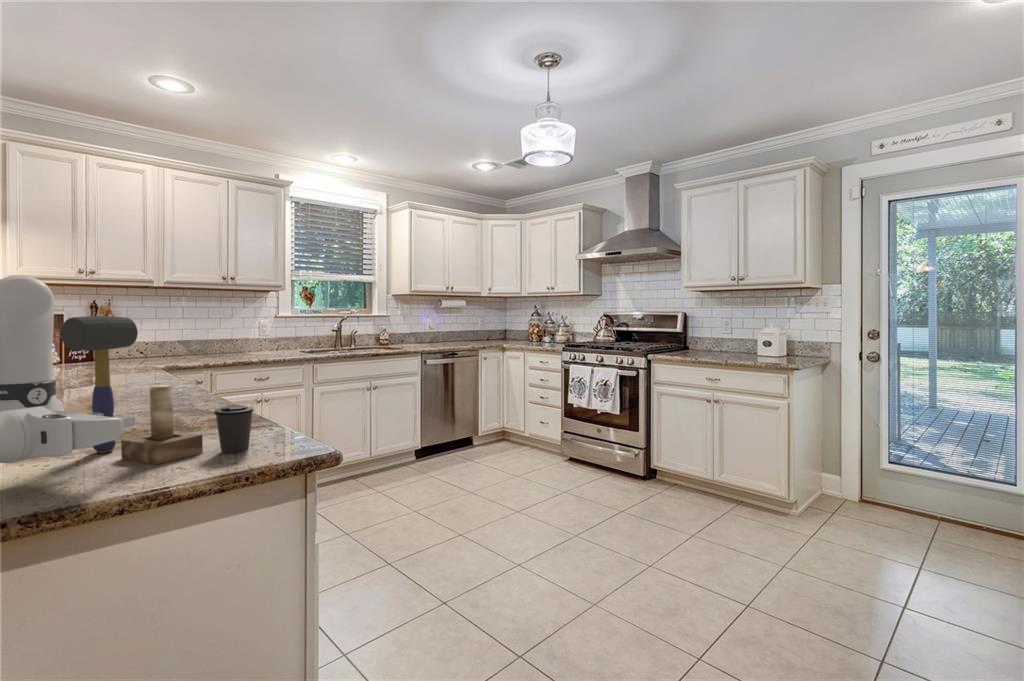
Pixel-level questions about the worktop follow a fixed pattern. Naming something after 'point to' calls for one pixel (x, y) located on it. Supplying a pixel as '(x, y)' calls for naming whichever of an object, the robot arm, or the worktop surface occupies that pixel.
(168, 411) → the beech peg
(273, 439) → the worktop surface
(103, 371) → the rubber mallet
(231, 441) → the coffee cup
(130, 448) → the walnut socket board
